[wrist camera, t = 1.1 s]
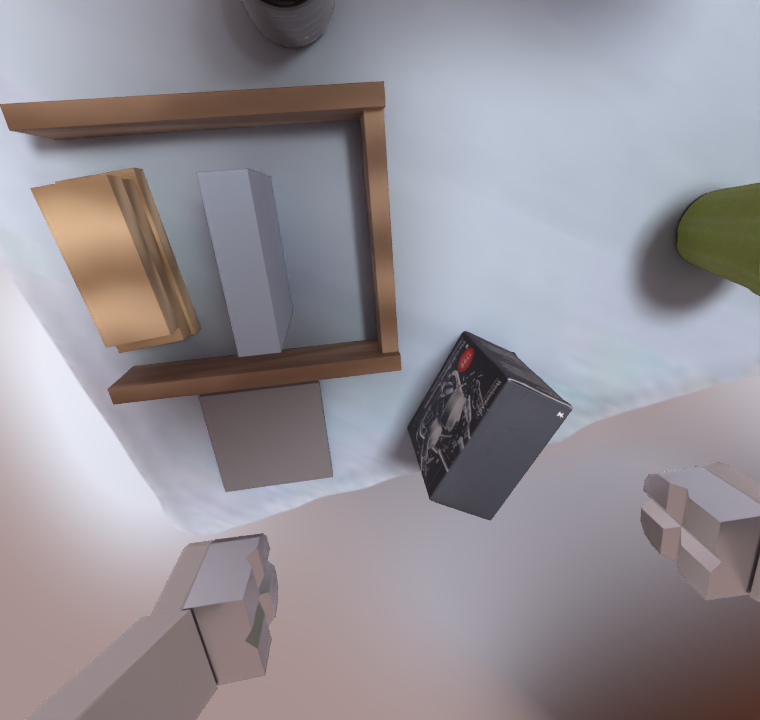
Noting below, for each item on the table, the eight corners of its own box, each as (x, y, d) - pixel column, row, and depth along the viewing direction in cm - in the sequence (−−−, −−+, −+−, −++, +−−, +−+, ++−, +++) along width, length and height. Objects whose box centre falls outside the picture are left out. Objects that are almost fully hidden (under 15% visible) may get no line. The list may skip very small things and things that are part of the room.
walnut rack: (48, 117, 31) (-1, 104, 26) (376, 97, 33) (383, 81, 28) (138, 380, 40) (113, 404, 35) (393, 350, 42) (401, 370, 37)
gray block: (235, 178, 34) (196, 172, 24) (270, 176, 34) (247, 168, 24) (261, 314, 39) (238, 357, 29) (292, 311, 39) (281, 352, 29)
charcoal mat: (200, 393, 41) (198, 397, 40) (318, 379, 42) (318, 382, 41) (227, 487, 46) (225, 491, 45) (332, 472, 47) (332, 477, 46)
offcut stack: (70, 182, 33) (18, 180, 27) (143, 169, 33) (106, 164, 28) (139, 339, 39) (107, 364, 33) (201, 327, 39) (180, 349, 33)
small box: (462, 327, 42) (510, 375, 31) (515, 352, 44) (578, 405, 33) (404, 428, 46) (428, 503, 35) (455, 447, 48) (493, 523, 36)
